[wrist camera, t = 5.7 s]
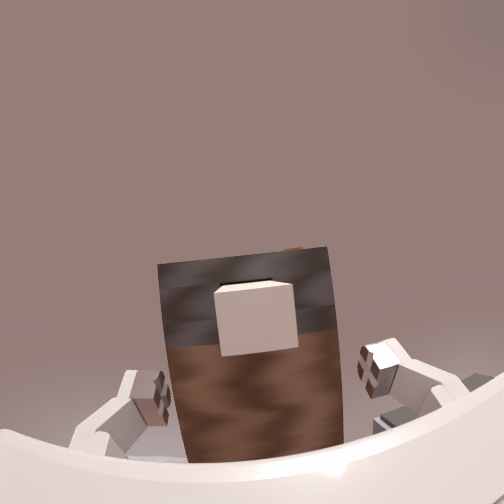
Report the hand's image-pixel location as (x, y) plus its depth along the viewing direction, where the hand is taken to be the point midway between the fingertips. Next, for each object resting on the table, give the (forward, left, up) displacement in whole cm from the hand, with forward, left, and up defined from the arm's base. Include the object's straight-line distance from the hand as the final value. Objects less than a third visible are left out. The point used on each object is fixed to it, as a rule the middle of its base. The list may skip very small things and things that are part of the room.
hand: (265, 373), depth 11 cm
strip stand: (0, +16, -24) cm, 29 cm away
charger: (0, +10, +1) cm, 10 cm away
